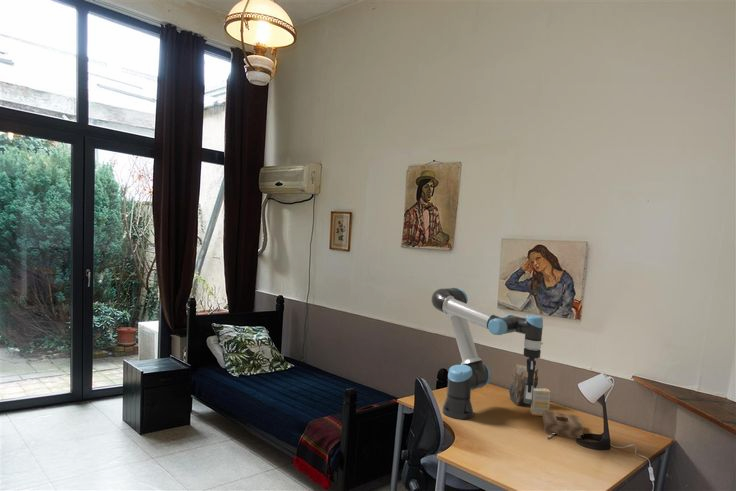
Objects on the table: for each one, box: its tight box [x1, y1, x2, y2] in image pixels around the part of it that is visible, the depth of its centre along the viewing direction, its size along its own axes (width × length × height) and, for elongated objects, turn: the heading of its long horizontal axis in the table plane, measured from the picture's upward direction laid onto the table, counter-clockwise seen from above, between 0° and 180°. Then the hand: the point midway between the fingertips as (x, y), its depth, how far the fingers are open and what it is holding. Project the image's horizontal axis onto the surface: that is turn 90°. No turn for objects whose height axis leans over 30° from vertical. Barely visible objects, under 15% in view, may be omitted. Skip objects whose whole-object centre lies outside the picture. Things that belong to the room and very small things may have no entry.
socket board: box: [542, 410, 584, 439], centre depth 217 cm, size 16×16×5 cm
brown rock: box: [508, 363, 539, 407], centre depth 252 cm, size 13×13×20 cm
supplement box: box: [530, 387, 551, 417], centre depth 235 cm, size 8×5×13 cm, turn 84°
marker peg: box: [524, 372, 535, 404], centre depth 216 cm, size 4×4×14 cm
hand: (528, 397), depth 216 cm, fingers closed on marker peg, 4 cm apart
